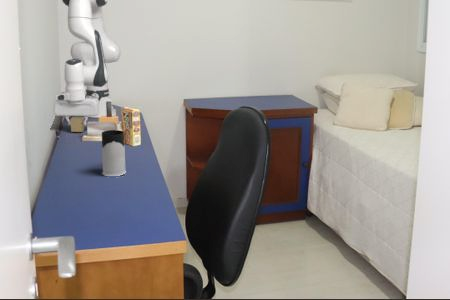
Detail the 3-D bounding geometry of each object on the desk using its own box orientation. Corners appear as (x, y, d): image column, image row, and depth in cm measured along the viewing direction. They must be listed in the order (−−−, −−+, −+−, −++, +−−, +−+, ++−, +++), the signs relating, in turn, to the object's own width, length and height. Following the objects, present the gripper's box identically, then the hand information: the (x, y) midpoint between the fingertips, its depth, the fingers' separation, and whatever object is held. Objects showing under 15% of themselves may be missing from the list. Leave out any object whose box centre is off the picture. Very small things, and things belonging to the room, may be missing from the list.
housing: (73, 129, 251) (73, 116, 250) (84, 129, 252) (83, 117, 250) (71, 131, 247) (70, 118, 246) (82, 131, 247) (81, 119, 246)
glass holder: (102, 178, 184) (100, 136, 180) (100, 166, 197) (98, 127, 193) (128, 176, 186) (126, 134, 182) (124, 165, 199) (122, 125, 196)
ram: (101, 126, 255) (100, 101, 252) (118, 126, 255) (117, 101, 252) (99, 128, 249) (98, 103, 246) (116, 129, 249) (115, 103, 246)
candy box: (141, 145, 229) (140, 109, 225) (133, 146, 226) (132, 110, 222) (129, 141, 235) (128, 106, 231) (121, 142, 232) (120, 107, 228)
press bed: (94, 128, 257) (93, 113, 255) (127, 129, 257) (127, 113, 255) (82, 140, 234) (81, 124, 232) (118, 141, 234) (118, 124, 232)
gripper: (100, 94, 248) (101, 123, 252) (55, 94, 248) (57, 123, 252) (97, 97, 242) (98, 126, 246) (51, 96, 242) (53, 126, 245)
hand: (77, 125), depth 249 cm, fingers closed on housing, 5 cm apart
